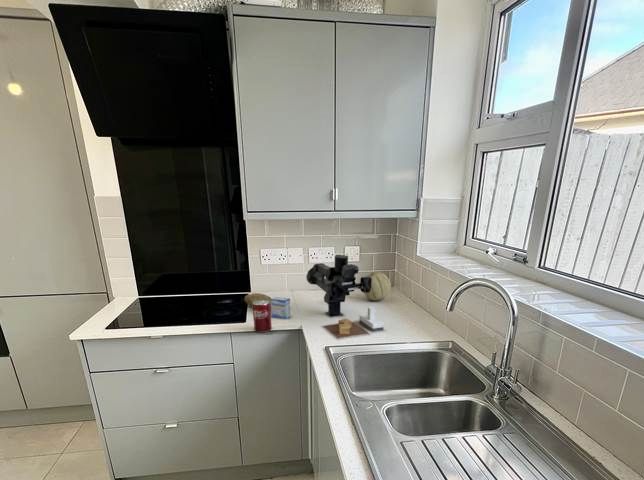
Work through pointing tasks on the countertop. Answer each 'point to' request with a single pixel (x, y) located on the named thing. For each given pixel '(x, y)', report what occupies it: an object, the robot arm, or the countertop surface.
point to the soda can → (262, 316)
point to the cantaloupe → (378, 286)
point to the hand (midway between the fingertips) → (359, 292)
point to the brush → (371, 320)
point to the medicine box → (280, 307)
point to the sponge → (257, 298)
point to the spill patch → (352, 331)
